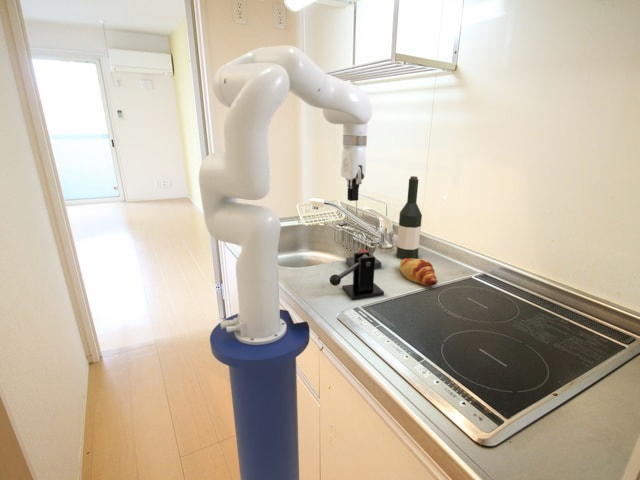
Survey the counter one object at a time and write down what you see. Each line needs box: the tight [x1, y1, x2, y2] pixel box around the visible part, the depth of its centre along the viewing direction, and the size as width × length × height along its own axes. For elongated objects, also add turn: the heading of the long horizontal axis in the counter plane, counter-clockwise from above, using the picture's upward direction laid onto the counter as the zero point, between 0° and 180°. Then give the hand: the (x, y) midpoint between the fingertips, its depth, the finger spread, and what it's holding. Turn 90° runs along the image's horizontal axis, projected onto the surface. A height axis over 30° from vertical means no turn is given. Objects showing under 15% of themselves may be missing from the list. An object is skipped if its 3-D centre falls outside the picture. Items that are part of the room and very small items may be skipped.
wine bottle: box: [396, 175, 423, 261], centre depth 133 cm, size 8×8×30 cm
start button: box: [358, 249, 370, 253], centre depth 126 cm, size 4×4×2 cm
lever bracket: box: [341, 251, 385, 301], centre depth 105 cm, size 10×8×12 cm
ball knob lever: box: [329, 254, 368, 287], centre depth 103 cm, size 13×3×3 cm, turn 112°
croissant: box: [399, 258, 438, 287], centre depth 118 cm, size 21×10×8 cm, turn 21°
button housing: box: [345, 252, 382, 270], centre depth 127 cm, size 10×8×4 cm
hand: (352, 200), depth 120 cm, fingers closed
